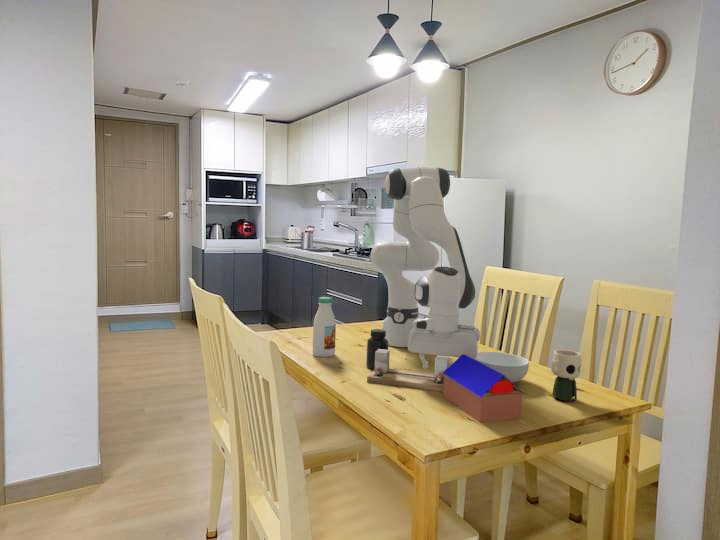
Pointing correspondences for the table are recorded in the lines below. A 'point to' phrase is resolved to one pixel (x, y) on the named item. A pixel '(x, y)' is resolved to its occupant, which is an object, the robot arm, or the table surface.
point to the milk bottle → (324, 329)
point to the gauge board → (401, 375)
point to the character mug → (566, 373)
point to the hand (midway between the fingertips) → (441, 369)
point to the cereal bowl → (505, 364)
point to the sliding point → (440, 367)
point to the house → (481, 391)
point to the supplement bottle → (375, 346)
